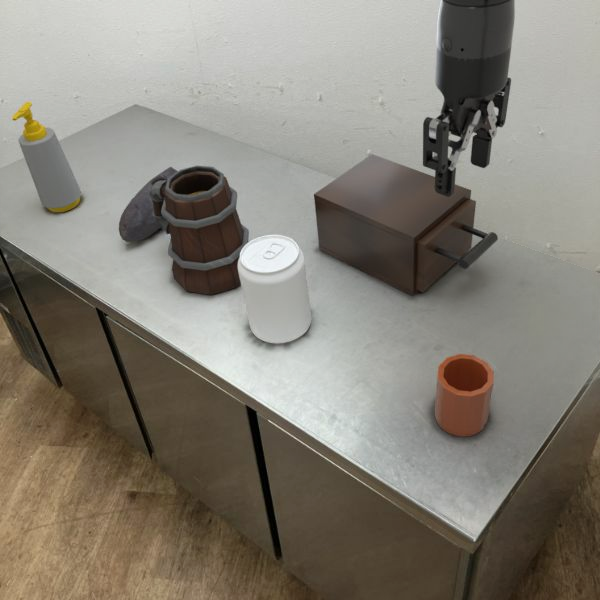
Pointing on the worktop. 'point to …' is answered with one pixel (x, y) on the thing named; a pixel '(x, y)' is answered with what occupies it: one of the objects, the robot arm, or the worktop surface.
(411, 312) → the worktop surface
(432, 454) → the worktop surface
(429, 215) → the cabinet
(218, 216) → the mug
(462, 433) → the cup
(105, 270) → the worktop surface
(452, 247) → the drawer
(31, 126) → the soap bottle
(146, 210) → the perforated stone tool
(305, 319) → the beverage can
